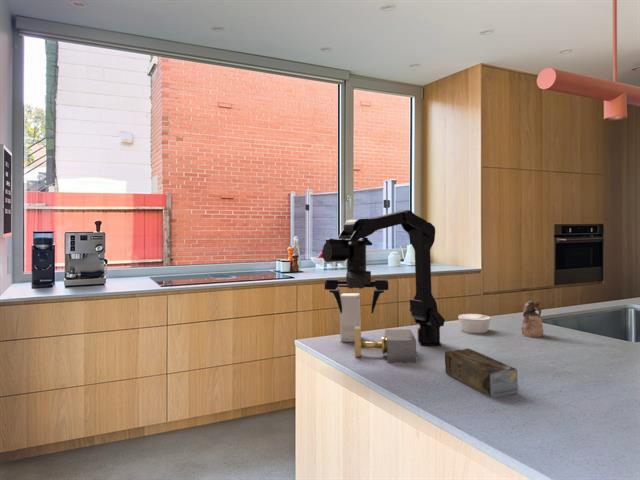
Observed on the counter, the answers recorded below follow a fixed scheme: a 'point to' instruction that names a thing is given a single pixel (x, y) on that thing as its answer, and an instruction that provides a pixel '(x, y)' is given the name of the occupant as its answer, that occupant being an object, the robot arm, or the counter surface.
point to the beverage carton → (481, 372)
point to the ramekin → (474, 323)
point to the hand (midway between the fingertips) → (356, 312)
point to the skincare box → (349, 316)
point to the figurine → (532, 320)
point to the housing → (400, 346)
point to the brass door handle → (368, 343)
